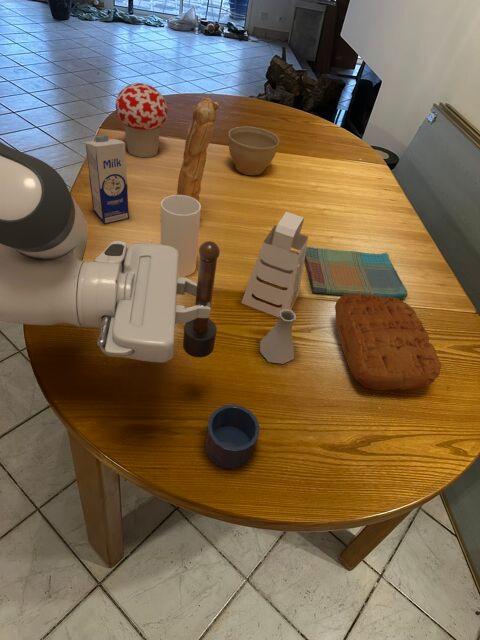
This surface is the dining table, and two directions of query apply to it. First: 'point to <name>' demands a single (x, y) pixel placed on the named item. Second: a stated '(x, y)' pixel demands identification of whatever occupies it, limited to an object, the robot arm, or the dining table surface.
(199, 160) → the sculpture
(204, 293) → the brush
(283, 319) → the flask
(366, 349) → the cuneiform tablet
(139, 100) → the decorative object
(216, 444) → the holder
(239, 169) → the planter bowl
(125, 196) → the milk carton
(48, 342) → the dining table surface
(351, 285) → the dish towel
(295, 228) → the grater
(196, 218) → the cup
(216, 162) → the dining table surface
